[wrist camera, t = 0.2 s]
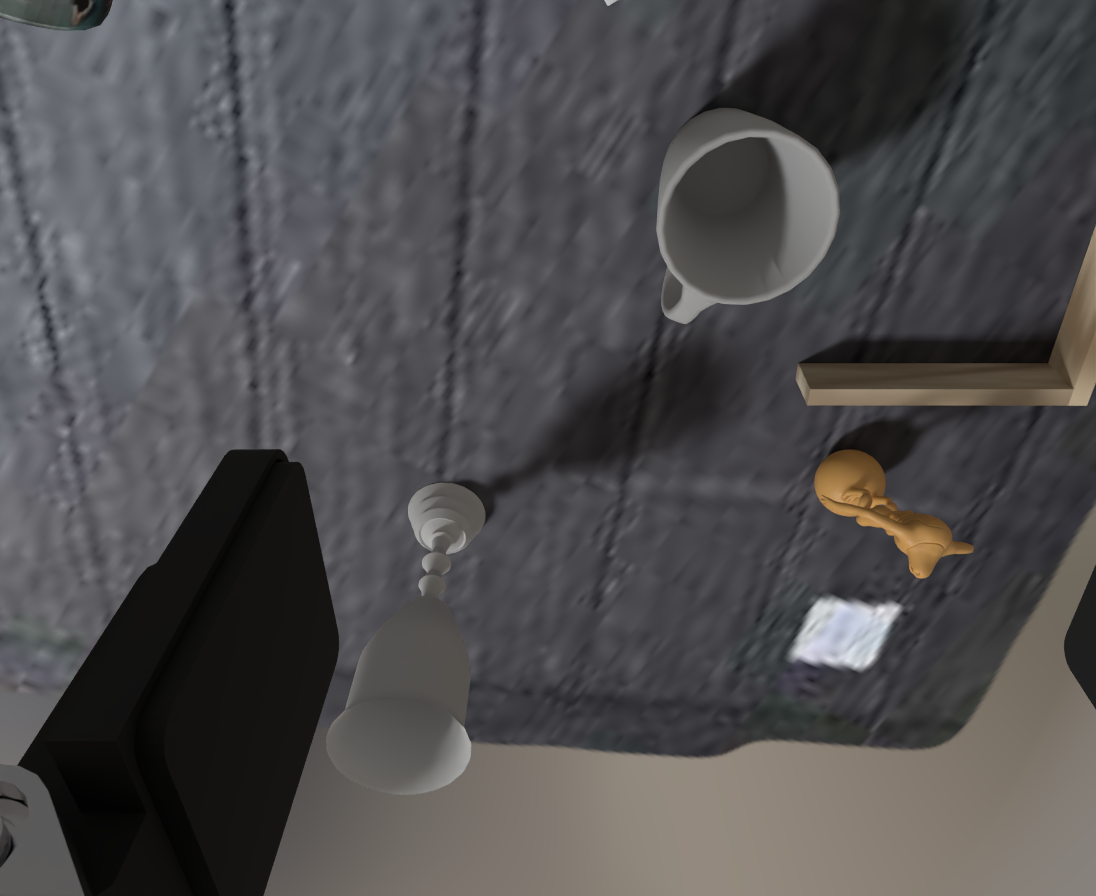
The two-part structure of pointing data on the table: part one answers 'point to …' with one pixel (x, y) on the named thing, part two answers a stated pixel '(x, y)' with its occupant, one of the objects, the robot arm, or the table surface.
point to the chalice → (414, 669)
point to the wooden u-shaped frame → (974, 369)
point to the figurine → (882, 509)
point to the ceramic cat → (56, 13)
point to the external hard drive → (610, 2)
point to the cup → (740, 212)
